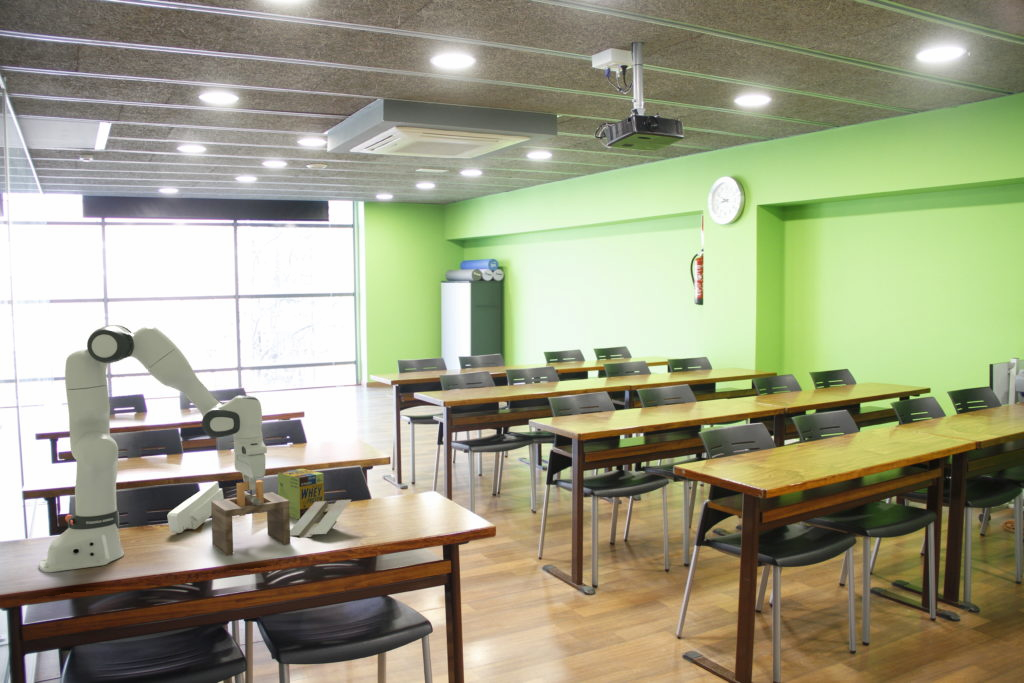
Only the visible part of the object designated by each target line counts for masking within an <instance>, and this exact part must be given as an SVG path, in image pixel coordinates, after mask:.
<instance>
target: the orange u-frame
mask: <svg viewBox="0 0 1024 683" xmlns="http://www.w3.org/2000/svg"><path fill="white" fill-rule="evenodd" d="M248 484H249V482H244V481H243V482H237V483H236V497H237V505H238V506H239V507H242V506H246V503H245V492H246V491H249V490H250V489H249V488H248ZM254 490H255V495H256V498H258V499H260V500H261V504H262V503H264V494H263V493H264V481H263V480H261V479H257V480H256V484H255V489H254ZM250 491H251V490H250ZM257 513H259V514H261V513H265V511H261V512H257ZM238 516H239V517H243V516H246V514H242V515H238Z"/></svg>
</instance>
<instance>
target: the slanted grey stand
mask: <svg viewBox="0 0 1024 683" xmlns="http://www.w3.org/2000/svg"><path fill="white" fill-rule="evenodd" d="M351 501H352V499H338V500H336V501H335V502H334V503H328V501H327V500H324V501H321V502H320V501H318V502H314V503H313V505H312V506H311V507H310V508H309V509H308V510H307V511H306V513H305V514H304V515H303V516H302V517H301V519H300V520H297V522H296V523H295V524H294V525H293V526H292V528H290V537H292V536H299V537H300V538H302V537H303V538H310V537H312V536H313V535H314V536H315V535H326V534H328V532H329V531H330V530H332V529H333V527H334V526H335V525H336V524H337V520H338V518H339V517H340V516H341V514H343V512H344V511H345V509H346V508H347V506H348V505H349V504H350V502H351Z"/></svg>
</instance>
